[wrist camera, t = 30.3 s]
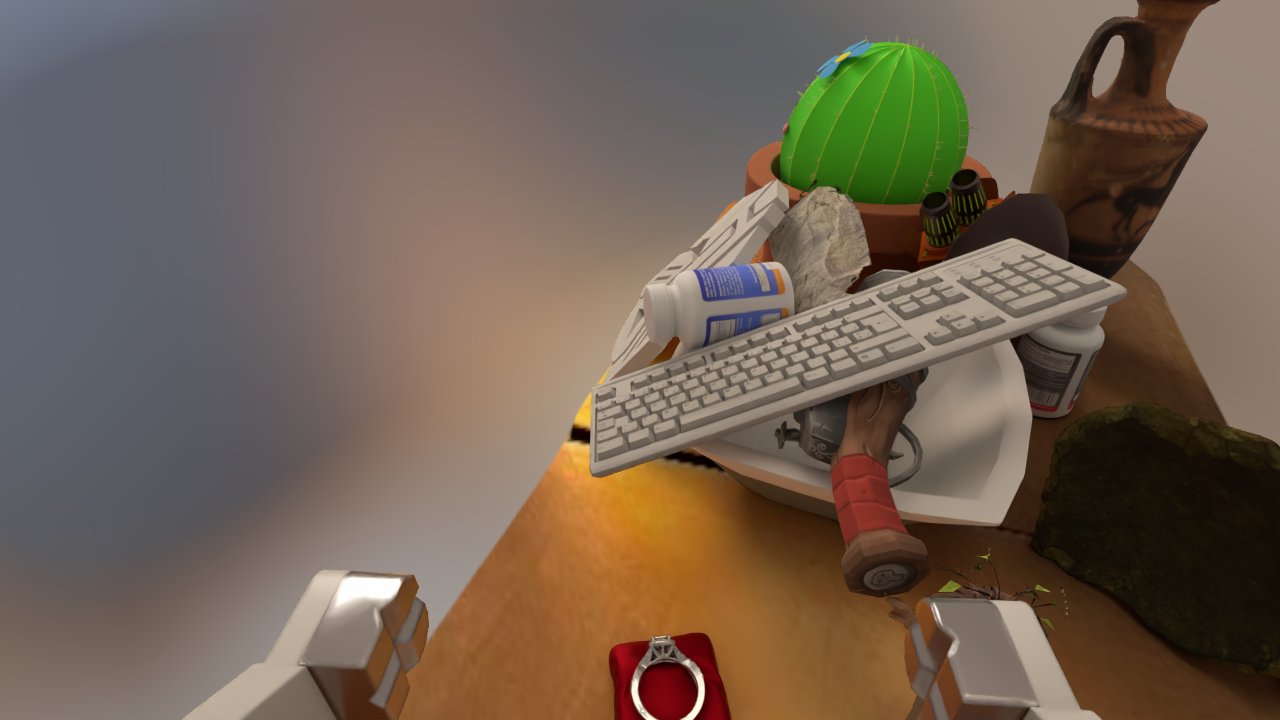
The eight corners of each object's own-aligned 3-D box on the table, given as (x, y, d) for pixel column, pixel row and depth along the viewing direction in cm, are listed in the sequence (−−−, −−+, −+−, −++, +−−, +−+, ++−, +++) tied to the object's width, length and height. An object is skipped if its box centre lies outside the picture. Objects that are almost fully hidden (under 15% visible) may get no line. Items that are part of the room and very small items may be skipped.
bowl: (987, 648, 36) (1038, 550, 31) (620, 518, 44) (616, 424, 40) (995, 414, 53) (1030, 326, 48) (726, 350, 61) (731, 269, 56)
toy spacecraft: (1071, 313, 57) (1014, 273, 62) (1067, 150, 43) (992, 113, 47) (952, 399, 59) (904, 354, 63) (908, 269, 44) (850, 223, 49)
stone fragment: (905, 246, 38) (818, 244, 38) (877, 372, 42) (799, 369, 42) (830, 177, 55) (771, 175, 55) (816, 271, 59) (760, 269, 59)
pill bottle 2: (1036, 375, 57) (1077, 275, 51) (1087, 412, 53) (1138, 308, 47) (985, 386, 56) (1021, 286, 50) (1033, 426, 52) (1079, 321, 46)
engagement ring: (707, 641, 37) (712, 613, 36) (734, 753, 33) (741, 727, 31) (606, 653, 37) (606, 625, 35) (618, 770, 32) (619, 744, 30)
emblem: (776, 230, 43) (591, 398, 53) (790, 244, 43) (603, 408, 53) (777, 156, 60) (637, 292, 70) (787, 166, 60) (646, 301, 70)
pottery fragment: (1457, 520, 26) (1466, 480, 28) (1074, 380, 36) (1104, 358, 38) (1294, 728, 32) (1312, 681, 34) (1006, 560, 42) (1036, 532, 44)
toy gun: (899, 643, 29) (703, 539, 33) (991, 374, 44) (847, 324, 48) (937, 574, 26) (712, 467, 30) (1024, 305, 40) (864, 258, 44)
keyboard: (593, 481, 36) (579, 451, 35) (601, 408, 45) (590, 383, 45) (1130, 299, 33) (1126, 262, 32) (1015, 262, 43) (1010, 233, 42)
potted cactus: (961, 269, 73) (1035, 20, 59) (943, 375, 57) (1040, 69, 43) (771, 236, 81) (795, 10, 67) (708, 321, 65) (722, 48, 50)
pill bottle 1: (766, 264, 49) (638, 276, 47) (793, 257, 43) (649, 271, 42) (772, 336, 49) (645, 350, 48) (799, 339, 44) (658, 354, 42)
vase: (1102, 304, 66) (1259, -41, 49) (1115, 360, 58) (1307, -28, 41) (986, 284, 70) (1092, -42, 53) (982, 334, 62) (1107, -31, 45)
